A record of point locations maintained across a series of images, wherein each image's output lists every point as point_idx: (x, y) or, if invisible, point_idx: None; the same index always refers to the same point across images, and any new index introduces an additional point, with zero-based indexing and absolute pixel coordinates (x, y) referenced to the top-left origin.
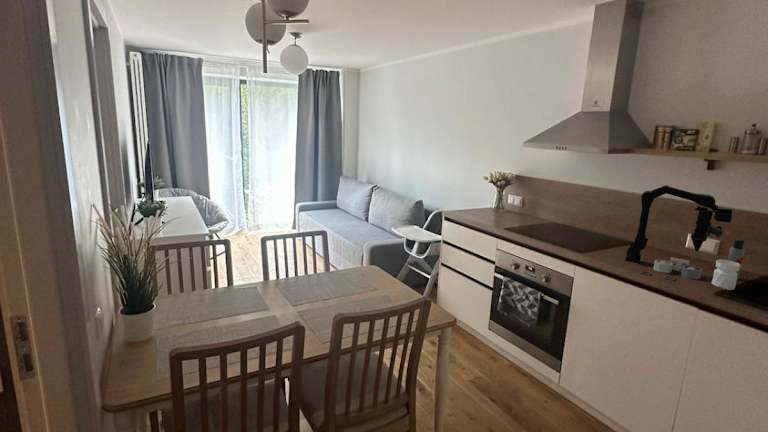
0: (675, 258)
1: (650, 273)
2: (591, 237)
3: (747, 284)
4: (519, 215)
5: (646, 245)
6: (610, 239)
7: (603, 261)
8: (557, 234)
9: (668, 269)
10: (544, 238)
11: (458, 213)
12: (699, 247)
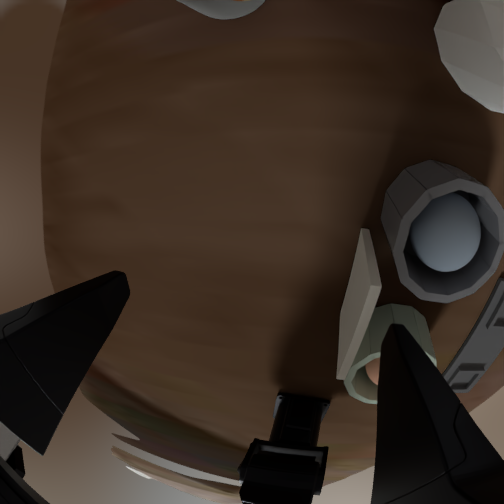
0: (353, 360)
1: (472, 371)
2: (135, 424)
3: None
4: (129, 458)
5: (315, 477)
6: (106, 397)
7: (359, 447)
8: (182, 461)
9: (429, 336)
10: (237, 479)
11: (202, 497)
12: (444, 380)
